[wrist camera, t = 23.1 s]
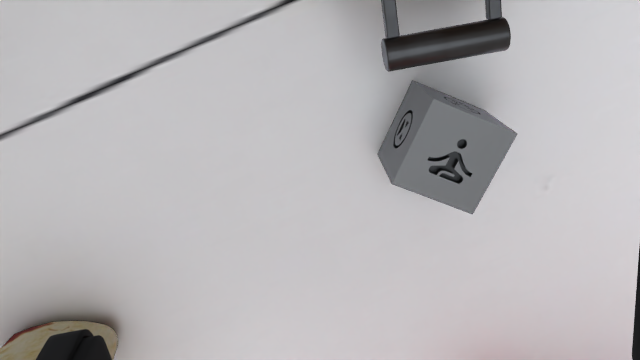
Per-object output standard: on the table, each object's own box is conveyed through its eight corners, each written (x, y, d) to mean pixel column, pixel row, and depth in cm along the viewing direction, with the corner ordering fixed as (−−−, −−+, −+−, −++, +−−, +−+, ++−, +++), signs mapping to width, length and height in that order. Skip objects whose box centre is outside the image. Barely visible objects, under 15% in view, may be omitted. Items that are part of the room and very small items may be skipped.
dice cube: (377, 154, 34) (391, 183, 29) (412, 80, 32) (433, 98, 28) (447, 181, 35) (472, 214, 30) (485, 110, 33) (517, 133, 29)
